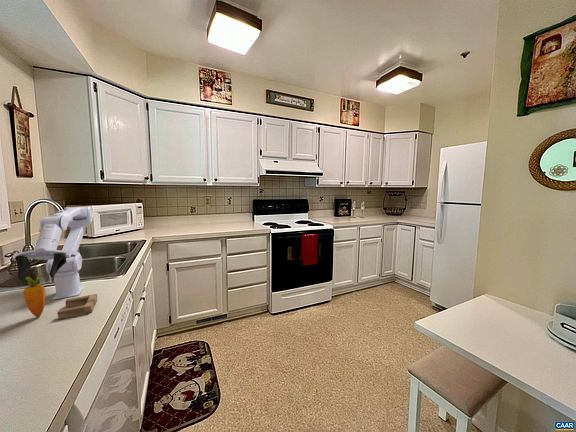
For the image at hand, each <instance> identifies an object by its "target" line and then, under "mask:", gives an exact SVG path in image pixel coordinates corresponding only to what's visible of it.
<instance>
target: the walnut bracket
mask: <svg viewBox="0 0 576 432" xmlns="http://www.w3.org/2000/svg"><path fill="white" fill-rule="evenodd" d="M98 300H99V299H98V294H97V293H95V294H88V295H84V296H78V297H72V298H71V297H70V298H67V299H66V300H65V303H64V304H65V307H66V308H63V309H59V310H58V311H57V320H63V319H64V320H65V319H67V318H72V317H77V316H78V317H79V316H82V315H87V314H93V311H94V309H95V308H96V307H95V306H96V305H97V302H98Z"/></svg>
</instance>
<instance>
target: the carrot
mask: <svg viewBox="0 0 576 432" xmlns="http://www.w3.org/2000/svg"><path fill="white" fill-rule="evenodd" d="M41 276H42V275H41V274H37V276H36V277H35V280H34V279H33V278H32V277H31V276H25V280H26V282H27V285H29V286H26V287H25V288H24V289H23V297H24V301H25V303H26V307H27V308H28V310H29V312H30V313H31V314H32V315H33V316H34V317H36V318H40V317H41V315H42V314H43V312H44V309H45V304H46V291H45V285H44V284H39V283H38V282H39V281H41V278H40V277H41Z"/></svg>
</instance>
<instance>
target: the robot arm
mask: <svg viewBox="0 0 576 432" xmlns="http://www.w3.org/2000/svg"><path fill="white" fill-rule="evenodd" d="M93 219H94V210H93V207H92V206H89V205H88V206H76V207H75V206H73V207H72V206H71V207H69V206H66V207H64V209H61V210H58V211H57V212H56V213H53V214H51V216H44V217H42V218H41V219H40V221H39V228H38V232H39V235H38V236H37V237H38V238H37V240H36V243H35V245H34V249H31V250H27V251H23V252H15V253H13V255H12V260H13V261H14V262H16V266H17V279H19V280H20V281H21V280H24V278H25V277H26V276H25V275H26V272H27V270H28V268H29V267H30V265H32V264H31V262H30V260H40V261H47V262H46V263H45V271H46V273H47V274H49V276H50V278H53V281H54V287H55V295H54V297H52V300H58V299H59V300H60V299H64V298H69V297H70V298H71V297H76V296H79V295H80V293H81V292H82V290H83V288H84V286H83V285H81V280H80V273H79V271H80V270H81V269H82V264H83V263H82V262H83V257H82V255H81V253H80V252H78V251H79V248H80V244H81V243H82V240H83V238H84V237H83V236H84V234H85V232H86V229H87V227H89V226H91V224H92V221H93ZM68 228H70V231H69V233H68V235H67V237H66V240H65V242H64V244H63V247H62V249H60V250H58V246H59V244H60V243H59V242H60V239H61V237H62V233H63V231H67V229H68Z"/></svg>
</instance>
